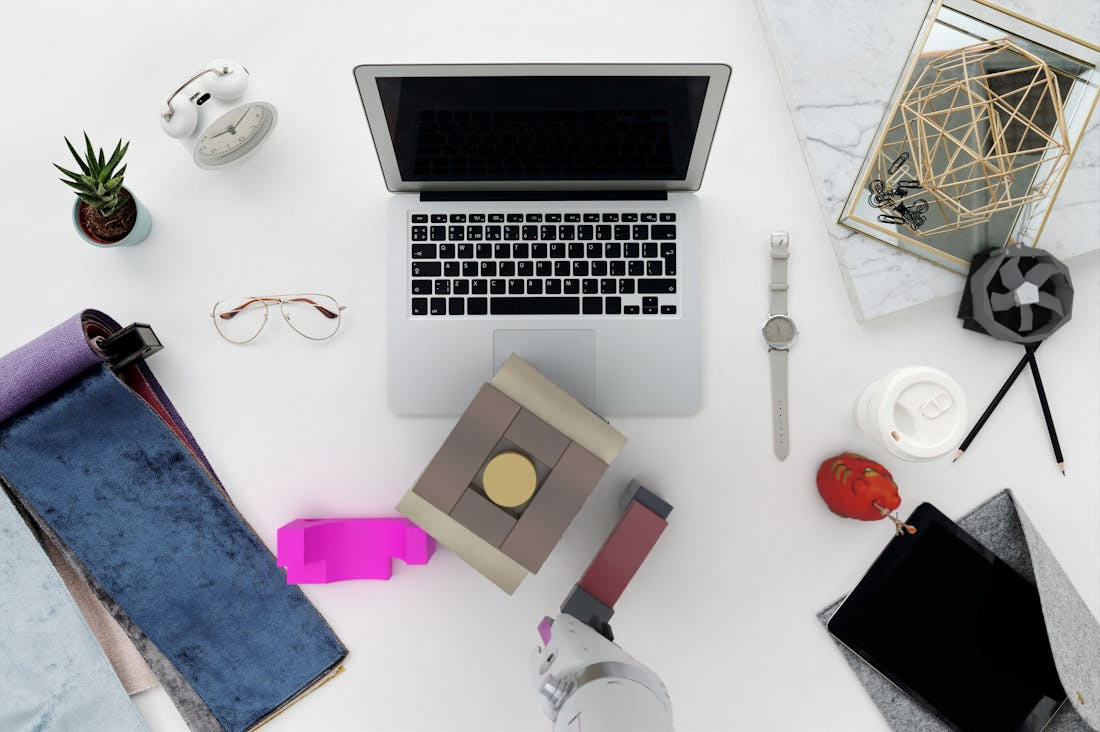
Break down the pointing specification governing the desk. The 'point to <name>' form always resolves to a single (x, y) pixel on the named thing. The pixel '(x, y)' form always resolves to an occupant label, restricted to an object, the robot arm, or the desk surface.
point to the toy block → (349, 548)
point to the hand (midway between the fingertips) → (591, 633)
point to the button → (510, 478)
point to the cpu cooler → (1017, 294)
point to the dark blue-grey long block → (645, 499)
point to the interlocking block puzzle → (547, 439)
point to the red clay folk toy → (859, 489)
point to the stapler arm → (614, 564)
